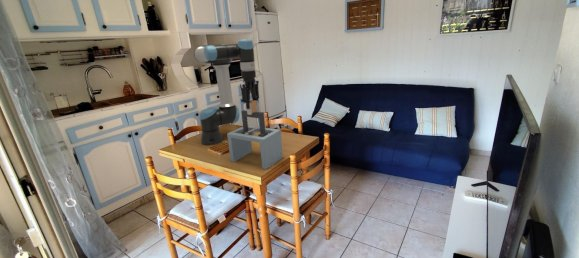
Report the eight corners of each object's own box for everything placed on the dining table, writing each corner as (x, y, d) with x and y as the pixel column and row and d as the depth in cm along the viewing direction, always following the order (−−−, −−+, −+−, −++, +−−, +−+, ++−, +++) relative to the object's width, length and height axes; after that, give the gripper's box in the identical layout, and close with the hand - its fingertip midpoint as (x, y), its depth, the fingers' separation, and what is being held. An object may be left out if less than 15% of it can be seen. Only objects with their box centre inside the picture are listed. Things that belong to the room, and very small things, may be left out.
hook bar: (245, 136, 150) (245, 132, 149) (259, 129, 160) (259, 125, 160) (248, 137, 149) (248, 133, 148) (262, 130, 159) (262, 126, 159)
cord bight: (241, 137, 157) (237, 101, 150) (247, 134, 161) (243, 99, 154) (263, 140, 149) (259, 102, 143) (268, 137, 153) (265, 100, 147)
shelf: (230, 161, 159) (227, 133, 154) (248, 150, 173) (246, 125, 167) (266, 169, 147) (263, 139, 141) (282, 157, 160) (280, 129, 155)
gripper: (243, 72, 135) (248, 118, 142) (263, 68, 149) (266, 110, 156) (231, 72, 139) (237, 116, 146) (252, 68, 152) (256, 109, 160)
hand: (252, 113), depth 151 cm, fingers closed on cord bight, 4 cm apart
